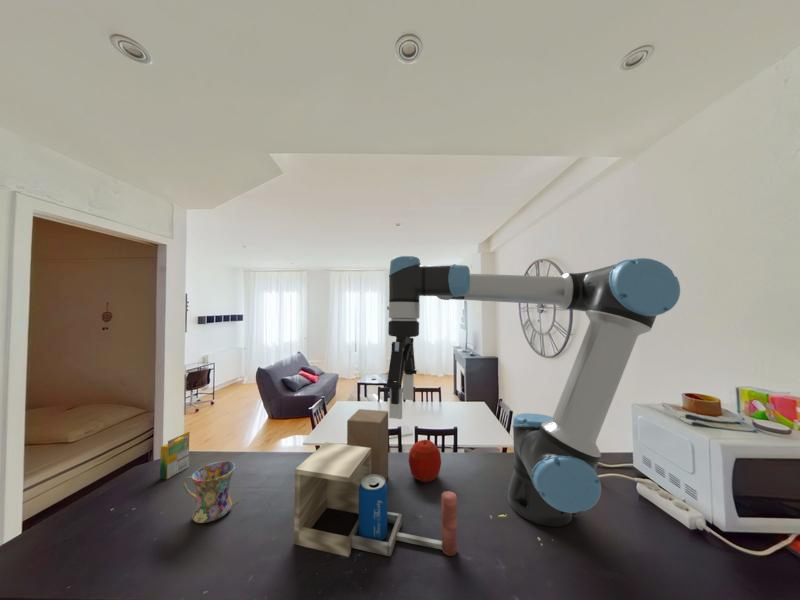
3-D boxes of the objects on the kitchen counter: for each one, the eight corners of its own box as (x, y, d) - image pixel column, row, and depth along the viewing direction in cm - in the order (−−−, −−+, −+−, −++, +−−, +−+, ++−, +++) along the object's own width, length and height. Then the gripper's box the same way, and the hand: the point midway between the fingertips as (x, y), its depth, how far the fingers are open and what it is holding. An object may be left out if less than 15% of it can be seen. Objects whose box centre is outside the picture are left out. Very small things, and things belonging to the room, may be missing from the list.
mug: (241, 500, 75) (242, 460, 76) (221, 526, 66) (222, 480, 67) (194, 502, 75) (196, 461, 75) (168, 529, 65) (170, 482, 66)
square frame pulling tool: (458, 533, 64) (457, 483, 64) (456, 571, 54) (455, 512, 55) (364, 515, 69) (364, 470, 70) (347, 546, 60) (348, 494, 60)
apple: (419, 465, 93) (419, 430, 93) (447, 475, 87) (447, 437, 88) (402, 480, 85) (402, 441, 85) (431, 492, 79) (431, 450, 79)
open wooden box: (370, 512, 71) (371, 447, 72) (348, 556, 58) (348, 477, 59) (324, 503, 74) (325, 442, 75) (293, 544, 61) (295, 469, 62)
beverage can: (363, 551, 59) (363, 493, 60) (355, 530, 65) (355, 477, 66) (391, 541, 62) (391, 485, 62) (381, 521, 68) (381, 470, 68)
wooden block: (380, 496, 77) (380, 422, 78) (346, 491, 79) (346, 420, 80) (388, 475, 87) (388, 410, 88) (358, 472, 89) (358, 408, 90)
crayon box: (181, 466, 93) (183, 430, 93) (189, 467, 92) (190, 431, 93) (158, 478, 85) (160, 440, 86) (166, 480, 85) (168, 441, 85)
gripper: (400, 318, 81) (399, 392, 80) (373, 320, 57) (370, 426, 56) (425, 319, 80) (425, 394, 79) (408, 321, 55) (407, 430, 54)
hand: (402, 407), depth 67 cm, fingers open, 13 cm apart
